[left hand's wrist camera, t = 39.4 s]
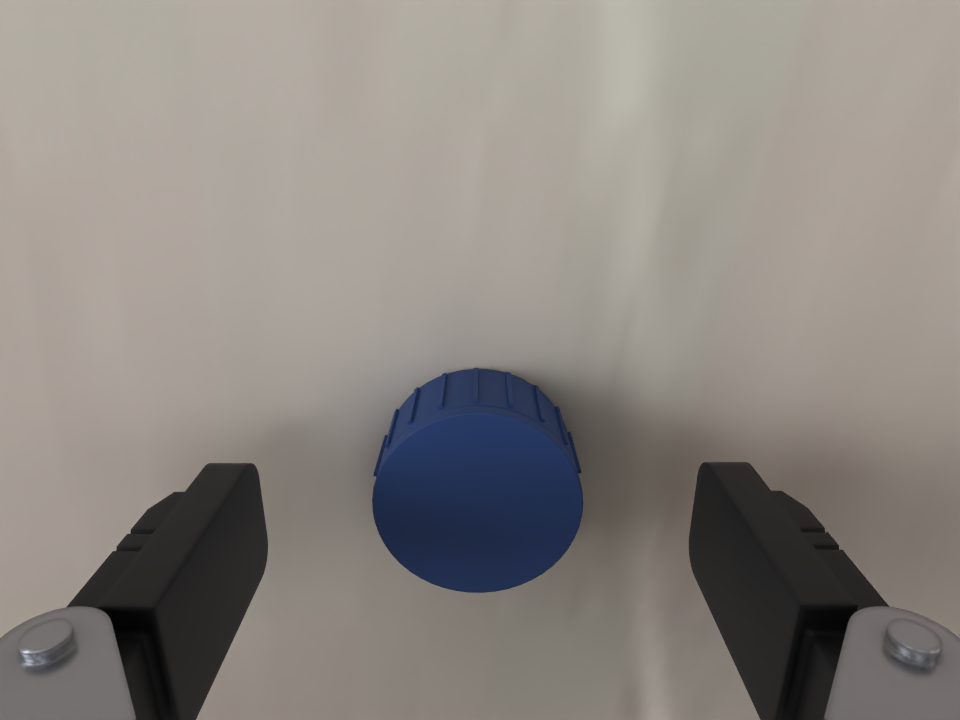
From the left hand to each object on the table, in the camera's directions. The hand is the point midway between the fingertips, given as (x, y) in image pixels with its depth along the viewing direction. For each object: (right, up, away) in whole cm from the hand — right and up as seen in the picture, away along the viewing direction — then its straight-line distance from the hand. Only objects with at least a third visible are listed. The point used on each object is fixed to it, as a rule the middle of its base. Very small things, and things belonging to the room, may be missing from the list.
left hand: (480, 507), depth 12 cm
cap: (0, 0, 0) cm, 0 cm away
